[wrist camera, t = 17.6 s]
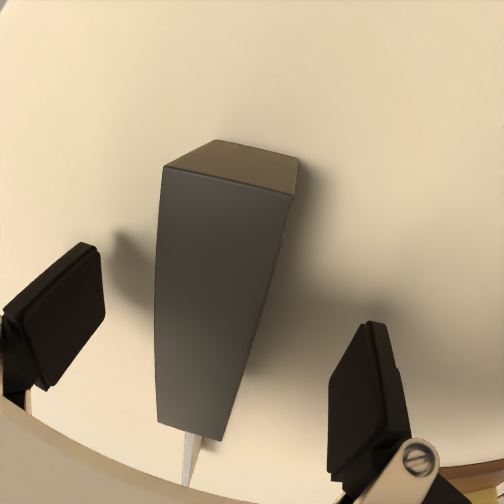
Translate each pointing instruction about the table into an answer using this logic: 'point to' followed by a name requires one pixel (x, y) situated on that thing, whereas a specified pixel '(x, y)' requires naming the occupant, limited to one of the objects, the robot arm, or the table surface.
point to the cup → (501, 500)
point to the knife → (213, 279)
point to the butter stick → (483, 496)
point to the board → (474, 476)
